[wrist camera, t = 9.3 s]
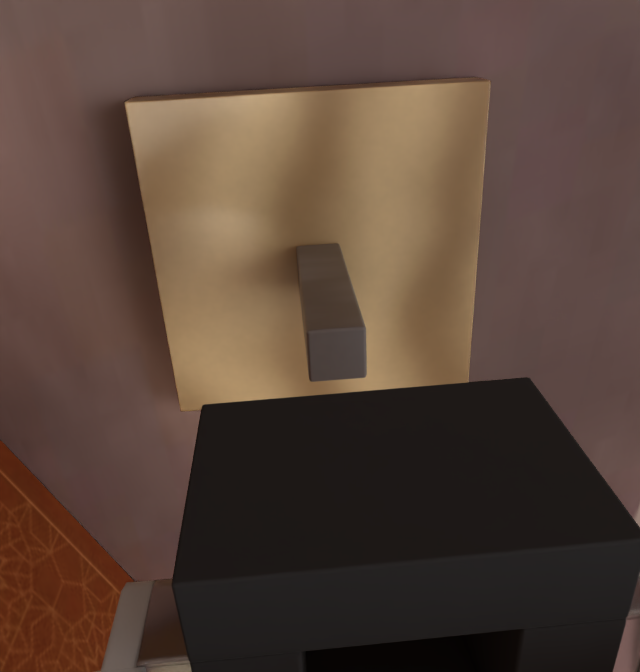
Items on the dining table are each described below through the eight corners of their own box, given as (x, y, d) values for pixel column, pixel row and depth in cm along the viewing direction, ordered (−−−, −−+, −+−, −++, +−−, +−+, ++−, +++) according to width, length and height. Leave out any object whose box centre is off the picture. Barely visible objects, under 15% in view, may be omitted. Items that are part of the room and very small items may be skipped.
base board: (477, 76, 21) (590, 105, 14) (458, 371, 27) (531, 505, 19) (132, 96, 21) (55, 137, 13) (185, 392, 26) (150, 540, 19)
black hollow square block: (529, 375, 11) (651, 539, 8) (500, 600, 14) (580, 796, 10) (201, 402, 11) (169, 586, 7) (238, 626, 14) (228, 838, 10)
